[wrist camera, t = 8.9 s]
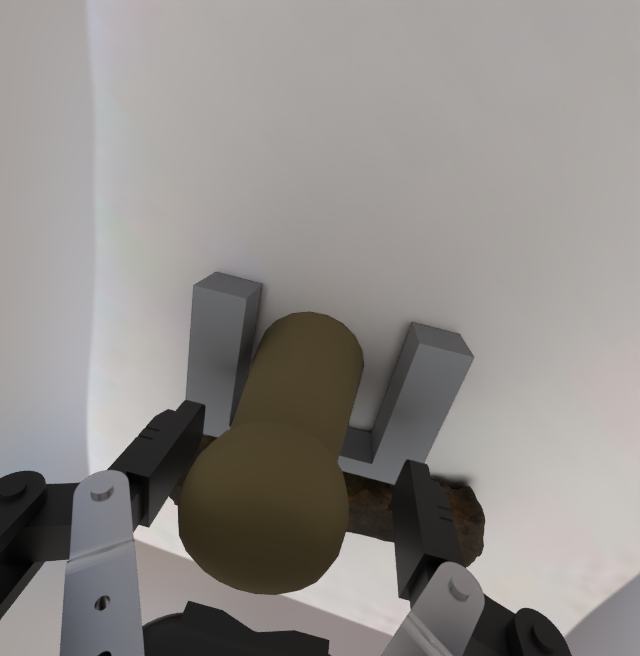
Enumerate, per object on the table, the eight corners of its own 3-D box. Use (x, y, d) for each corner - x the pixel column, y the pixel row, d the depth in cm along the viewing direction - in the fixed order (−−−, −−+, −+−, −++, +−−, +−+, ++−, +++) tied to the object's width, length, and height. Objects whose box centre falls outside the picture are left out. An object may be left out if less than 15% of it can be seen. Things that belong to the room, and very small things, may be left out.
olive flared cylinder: (279, 414, 21) (199, 631, 11) (241, 326, 19) (97, 494, 9) (375, 395, 19) (387, 624, 9) (346, 298, 17) (320, 460, 7)
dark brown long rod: (476, 475, 21) (504, 549, 17) (453, 517, 23) (473, 594, 18) (185, 401, 22) (141, 454, 17) (183, 447, 23) (142, 506, 19)
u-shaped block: (215, 272, 18) (193, 285, 15) (459, 334, 17) (474, 357, 15) (203, 401, 21) (183, 428, 19) (406, 455, 21) (411, 489, 18)
